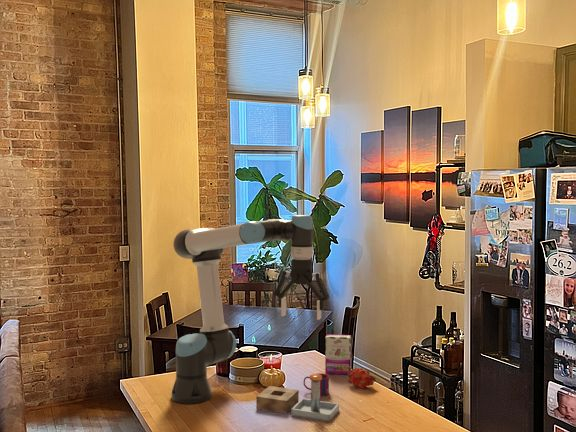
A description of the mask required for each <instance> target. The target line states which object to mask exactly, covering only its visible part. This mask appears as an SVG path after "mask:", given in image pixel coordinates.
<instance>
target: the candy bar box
mask: <svg viewBox="0 0 576 432" xmlns="http://www.w3.org/2000/svg"><path fill="white" fill-rule="evenodd" d="M324 341H325V344H324V345H325V351H324V354H325V358H324V359H325V360H324V361H325V362H324V363H325V369H324V371H325V373H324V374H327V375H341V376H342V375H345V376H347V375H348V374H349V372H350V371H351V369H352V335H351V334H350V335H348V334H326V335H325V339H324Z"/></svg>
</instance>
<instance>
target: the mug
mask: <svg viewBox="0 0 576 432" xmlns="http://www.w3.org/2000/svg"><path fill="white" fill-rule="evenodd" d="M317 374H320V375H322V380H320V397H324V396H325V397H326V396H327V395H329V393H330V375H329V374H326V373H317ZM306 379H310V376H305V377H304V379H303V386H304V388H306V390H309V391H311V387H308V386H307V385H306Z"/></svg>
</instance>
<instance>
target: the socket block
mask: <svg viewBox="0 0 576 432" xmlns="http://www.w3.org/2000/svg"><path fill="white" fill-rule="evenodd" d="M299 392H300V391H299V390H298V389H292V388H287V387H280V386H274V385H273V386H272V385H269V386H268V387H266V388H265V389H264V390H263V391H261V392H260V393H259V394H258V395H256V402H255V403H256V405H255V406H256V409H257V410H265V411H270V412H271V411H272V412H277V413H282V414H288V413H289V412H290V411H291V409H292V408H293V407H294V406H295V405H296V404H297V403H298V402H299V401H300V400H299Z"/></svg>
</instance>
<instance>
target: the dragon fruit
mask: <svg viewBox="0 0 576 432" xmlns="http://www.w3.org/2000/svg"><path fill="white" fill-rule="evenodd" d="M370 373H371V372H370V371H369V370H366V368H365V369H364V368H362V367H361V368H359V367H354V368H351V371H350V372H349V374H348V375H346V376H347V382H348V383H349V384H352V385H354V387H355V389H358V388H361V389H364V390H369V389H370V387H369V386H373V385H374V382H377V379H376V377H375V376H374V375H372V374H370Z"/></svg>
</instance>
